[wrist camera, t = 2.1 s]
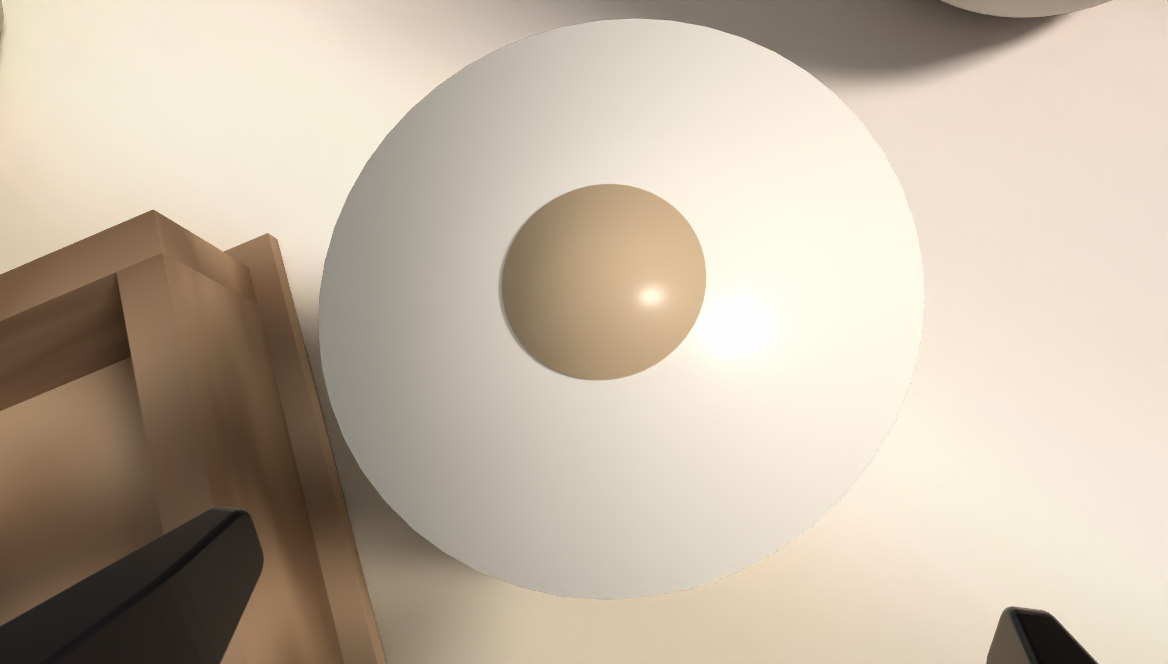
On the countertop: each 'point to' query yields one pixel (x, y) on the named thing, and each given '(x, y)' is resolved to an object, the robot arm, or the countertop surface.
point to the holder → (172, 431)
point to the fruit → (1, 15)
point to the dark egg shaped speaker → (1024, 6)
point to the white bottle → (621, 309)
